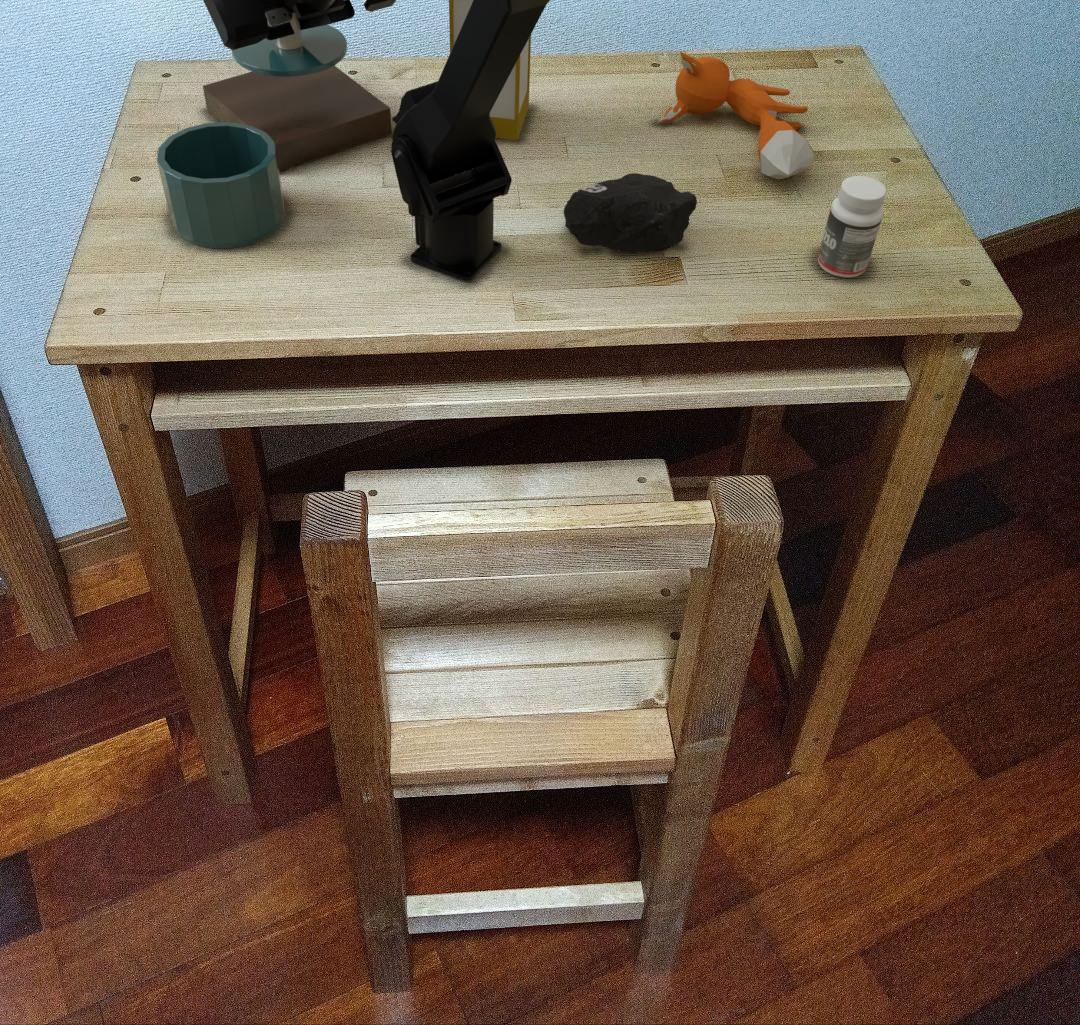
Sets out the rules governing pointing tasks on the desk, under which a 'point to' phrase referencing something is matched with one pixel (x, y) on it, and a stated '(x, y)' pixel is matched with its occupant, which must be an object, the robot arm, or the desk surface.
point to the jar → (222, 184)
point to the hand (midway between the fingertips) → (281, 29)
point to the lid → (295, 52)
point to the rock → (630, 214)
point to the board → (301, 112)
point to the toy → (743, 112)
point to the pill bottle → (852, 227)
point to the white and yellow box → (516, 89)
